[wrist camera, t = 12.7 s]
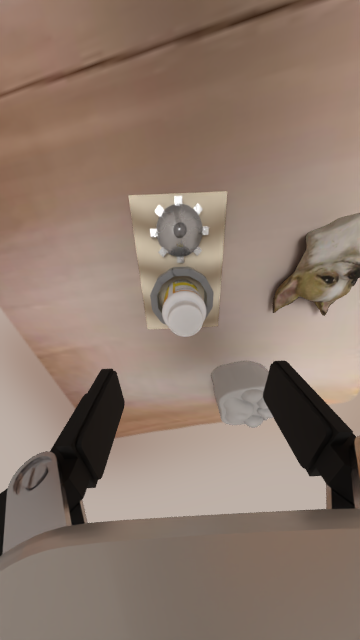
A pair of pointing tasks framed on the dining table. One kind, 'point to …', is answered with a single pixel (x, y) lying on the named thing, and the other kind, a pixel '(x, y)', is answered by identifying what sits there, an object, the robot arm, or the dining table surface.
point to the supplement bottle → (183, 308)
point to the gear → (179, 229)
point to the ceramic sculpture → (325, 265)
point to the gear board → (156, 264)
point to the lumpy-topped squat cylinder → (241, 393)
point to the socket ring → (180, 272)
